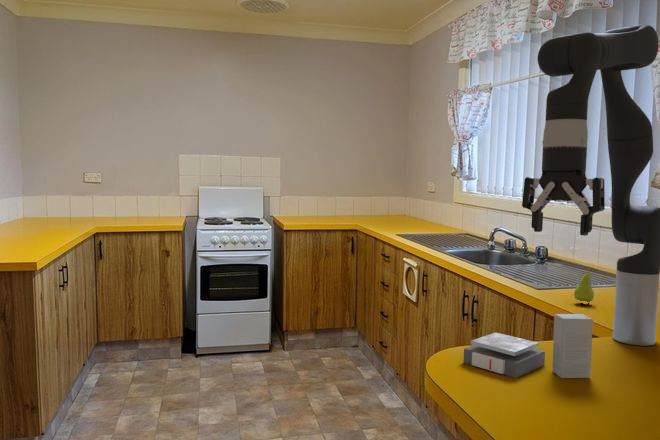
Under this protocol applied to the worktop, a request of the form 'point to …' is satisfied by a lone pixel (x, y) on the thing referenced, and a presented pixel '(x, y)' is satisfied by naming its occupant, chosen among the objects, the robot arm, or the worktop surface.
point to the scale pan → (505, 343)
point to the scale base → (504, 360)
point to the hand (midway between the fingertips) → (560, 233)
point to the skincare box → (572, 345)
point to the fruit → (584, 289)
